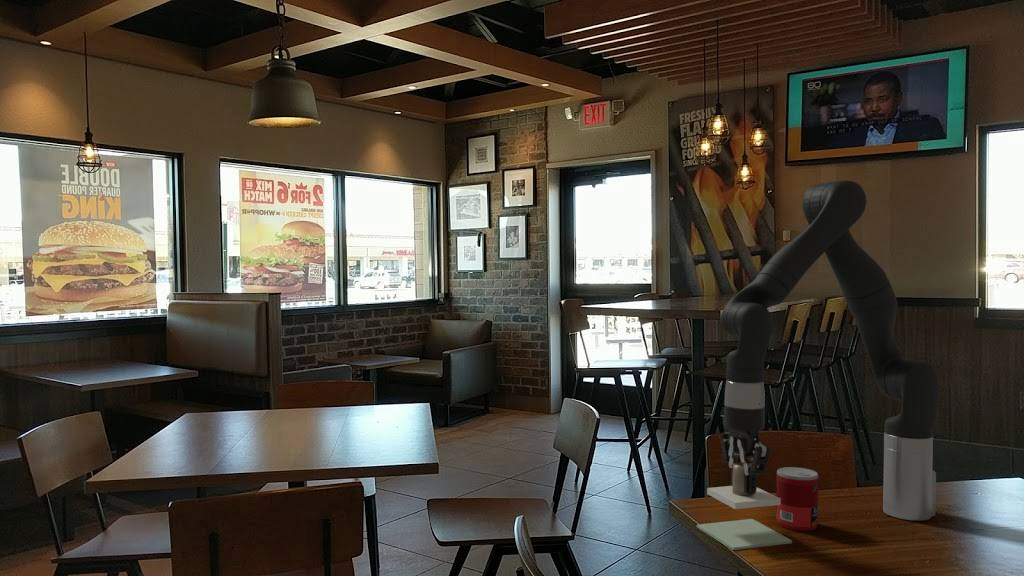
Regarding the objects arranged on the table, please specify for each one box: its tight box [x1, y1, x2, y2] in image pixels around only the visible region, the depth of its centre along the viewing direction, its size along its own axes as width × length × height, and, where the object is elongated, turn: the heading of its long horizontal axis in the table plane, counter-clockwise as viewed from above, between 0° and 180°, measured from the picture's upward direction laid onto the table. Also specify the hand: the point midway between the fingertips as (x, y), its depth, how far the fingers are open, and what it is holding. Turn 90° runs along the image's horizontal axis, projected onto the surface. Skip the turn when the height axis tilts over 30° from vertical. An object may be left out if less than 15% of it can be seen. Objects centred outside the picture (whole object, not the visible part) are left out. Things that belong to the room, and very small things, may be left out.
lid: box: [706, 462, 781, 510], centre depth 149 cm, size 10×10×7 cm
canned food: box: [775, 466, 819, 532], centre depth 155 cm, size 8×8×11 cm
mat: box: [696, 518, 793, 551], centre depth 149 cm, size 13×13×1 cm
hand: (743, 489), depth 149 cm, fingers closed on lid, 4 cm apart
